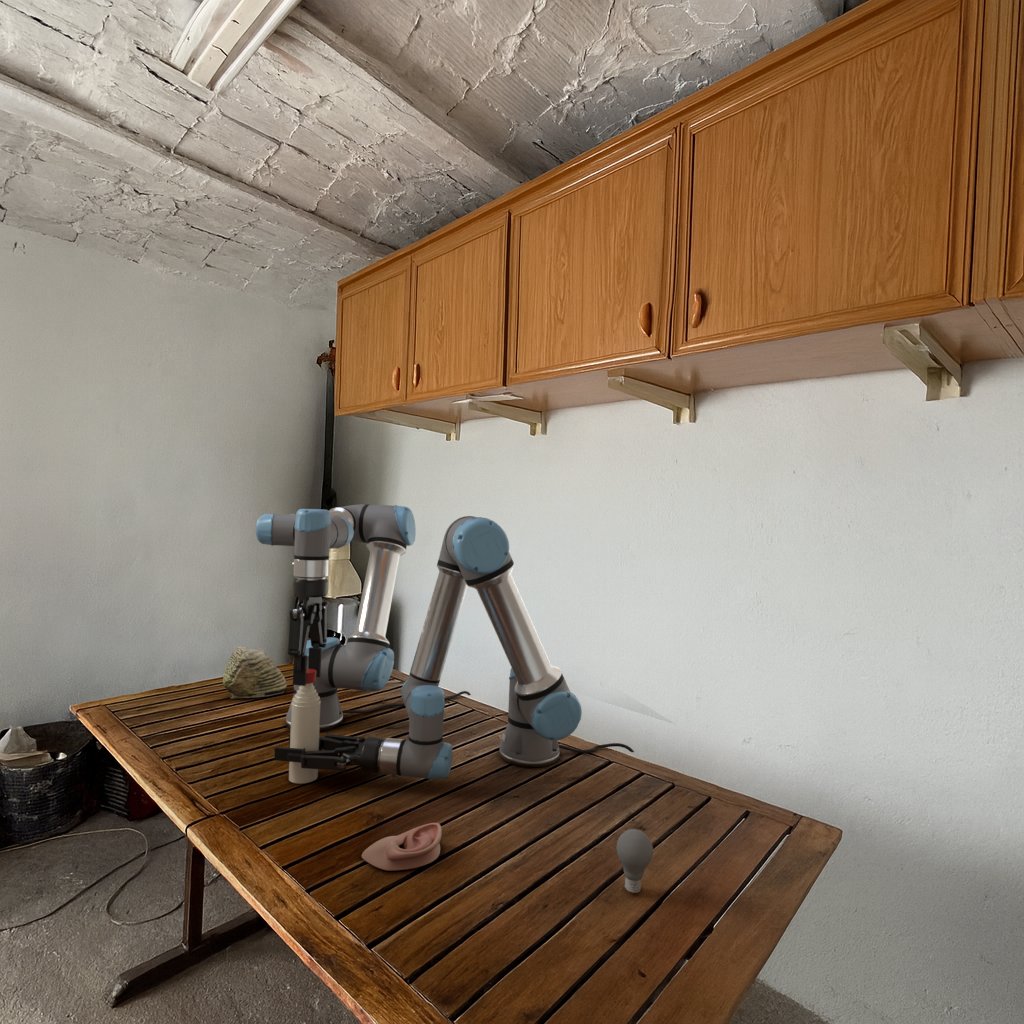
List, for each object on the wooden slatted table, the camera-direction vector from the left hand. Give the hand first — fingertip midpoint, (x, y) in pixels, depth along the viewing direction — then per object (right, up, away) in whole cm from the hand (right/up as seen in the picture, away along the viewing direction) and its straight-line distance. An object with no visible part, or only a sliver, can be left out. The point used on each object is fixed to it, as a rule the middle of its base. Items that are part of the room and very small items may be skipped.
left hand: (306, 680), depth 142 cm
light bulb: (+66, -26, -36) cm, 80 cm away
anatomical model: (+26, -24, -28) cm, 46 cm away
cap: (0, +2, 0) cm, 2 cm away
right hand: (-6, -15, +1) cm, 16 cm away
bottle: (-1, -22, 0) cm, 22 cm away
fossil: (-35, -19, +56) cm, 69 cm away
